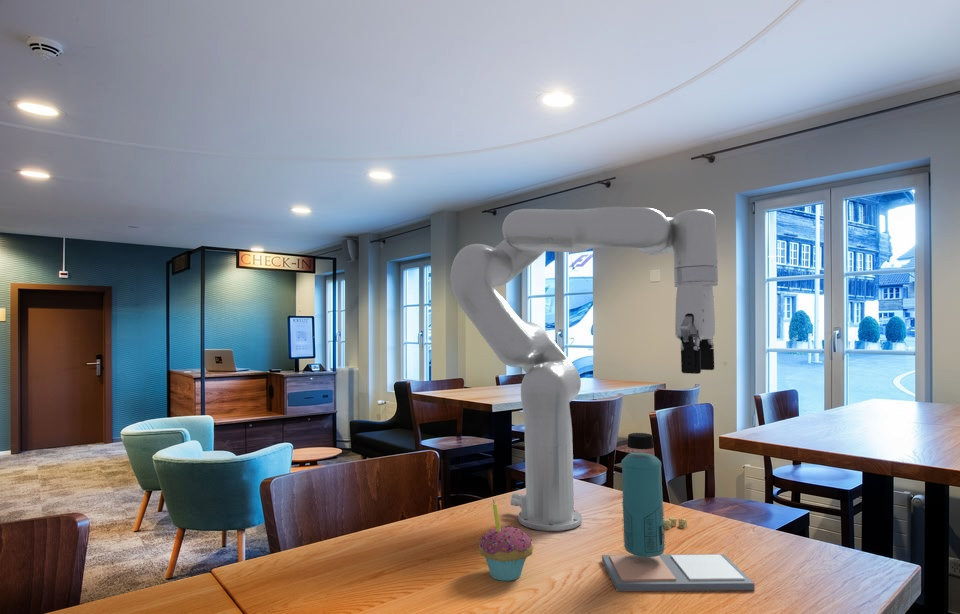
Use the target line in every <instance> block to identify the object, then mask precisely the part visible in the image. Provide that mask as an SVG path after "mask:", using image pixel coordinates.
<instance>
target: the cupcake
mask: <svg viewBox="0 0 960 614" xmlns="http://www.w3.org/2000/svg"><path fill="white" fill-rule="evenodd" d="M492 502H493V503H492V511H493V516H494V524H495V528H492V529H488V530H487V531H486V532H484V534H482V536H481V537H480V538H479V541H478V552H479V555H480V556H481V557H484V559H485V562H486V564H487V567H488V569H489V573H490V576H491V578H493V579H494V580H497V581H502V582H505V581H506V582H508V581H509V582H510V581H515V580H517V579H519V578H520V577H521V576H522V572H523V568H524V565H525V563H526V559H527V558H528V557H530V556H532V555H533V552H534V551H533V550H534V546H533V540H532V539H531V537H530V536H529V535H528V534H527V533H526V532H525V531H523V530H522V529H520V528H518V527H516V526H514V527H513V526H509V525H508V526H501V524H500V517H499V511H498V505H497V503H496V502H495V499H494V498H492Z"/></svg>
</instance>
